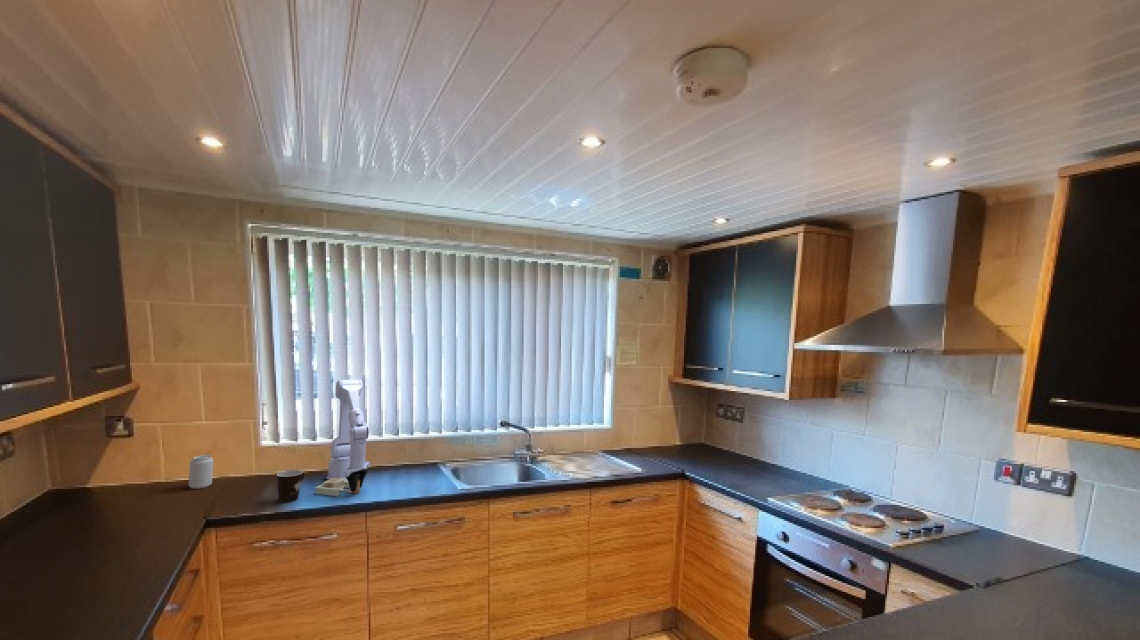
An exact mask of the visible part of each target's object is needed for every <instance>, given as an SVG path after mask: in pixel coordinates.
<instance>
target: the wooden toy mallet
mask: <svg viewBox="0 0 1140 640" xmlns="http://www.w3.org/2000/svg"><path fill="white" fill-rule="evenodd" d="M344 480H345V479H342V478H332V479H327V480H326V481H323V482H322V484H323V487H327V488H336V489H340V493H341V492H342V493H351V494H352V495H358V494H360V492H361V488H360V479H358V482H357V488H356V491H350V489H345V488H344Z"/></svg>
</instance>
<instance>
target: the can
mask: <svg viewBox="0 0 1140 640" xmlns="http://www.w3.org/2000/svg"><path fill="white" fill-rule="evenodd" d="M213 472H214V458H213V457H212V455H208V454H207V455H206V454H205V455H197V456H196V455H195V456H194V457H192V460H190V462H189V475H188V487H189V488H190V489H192V490H195V489H196V490H197V489H198V490H199V489H205V488H207V487H209V486H210V485H211V484H212V483H213Z"/></svg>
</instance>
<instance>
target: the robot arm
mask: <svg viewBox="0 0 1140 640" xmlns="http://www.w3.org/2000/svg"><path fill="white" fill-rule="evenodd" d="M363 386H364V385H363V381H362V380H361V379H342V380H341V379H337V381H336V384H335V398H336V399H339V420H338V421H339V423H338V425H339V426H338V435H337V437H335V438H334V439H332V440H331V445H330V457H331V459H330V460H329V462H328V468H327V469H328V470H327V476H326V478H325V479H327V480H330V479H332V478H342V479H345V481H348V483H349V487H350V488H349V490H350V491H356V488H357V482H358V479H360V489H361V488H362V486H363V484H364V481H365V477H366V476H367V473H369V469H368V468H370V464H371V462H370V461H366V448H367V440H368V439H369V435H370V434H369V432H370V431H369V425H368V424H367V423H366V421H365V416H364V411H363V410H361V409H360V398H359V397H360V396H361V394H362V391H363Z"/></svg>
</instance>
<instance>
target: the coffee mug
mask: <svg viewBox="0 0 1140 640" xmlns="http://www.w3.org/2000/svg"><path fill="white" fill-rule="evenodd" d="M304 478H305V473H304V471H303V470H299V469H292V470H291V469H290V470H289V469H288V470H283V471H280V472H278V473H277V474H276V481H277V493H278V495H277V496H278V502H280V503H292V502H296V501H297V500H298V499H299V496H300V489H301V484H302V482H303V480H304Z"/></svg>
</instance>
